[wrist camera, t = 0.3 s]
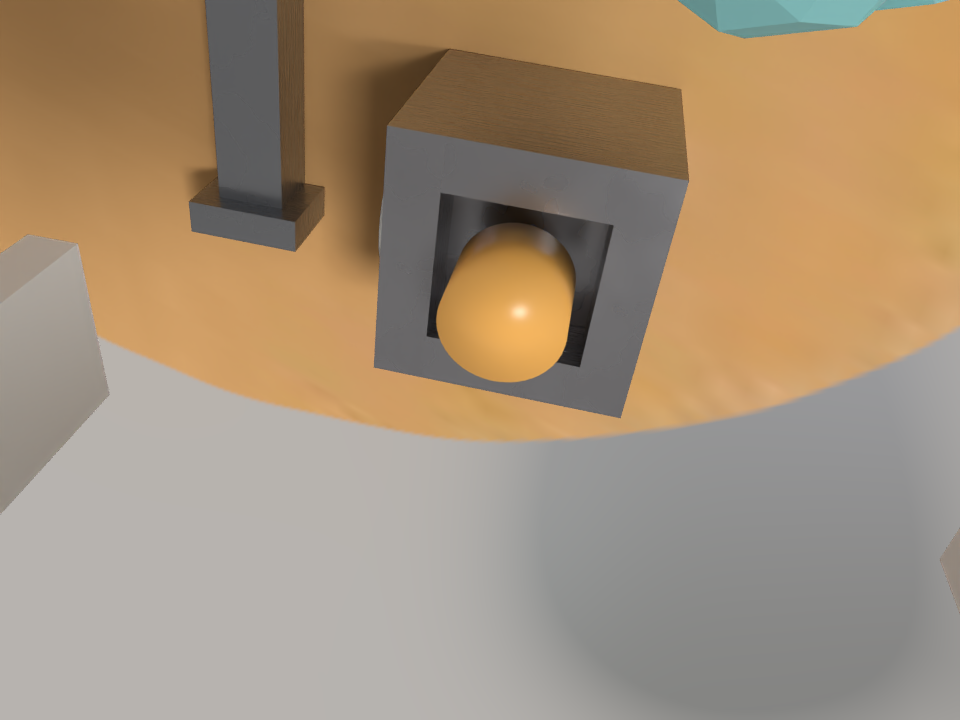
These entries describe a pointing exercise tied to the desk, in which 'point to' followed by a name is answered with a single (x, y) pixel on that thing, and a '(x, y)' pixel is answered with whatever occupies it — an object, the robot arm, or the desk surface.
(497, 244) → the button
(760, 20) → the alarm clock
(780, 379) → the desk surface
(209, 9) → the rail
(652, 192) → the cabinet
